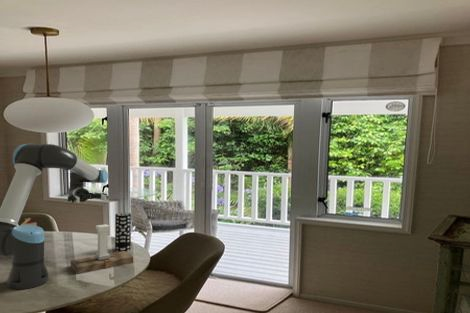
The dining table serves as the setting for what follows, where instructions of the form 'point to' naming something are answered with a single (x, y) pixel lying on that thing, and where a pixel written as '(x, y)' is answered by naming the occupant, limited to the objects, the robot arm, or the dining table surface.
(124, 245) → the spotted tube
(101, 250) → the fader knob
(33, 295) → the dining table surface
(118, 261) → the fader console
